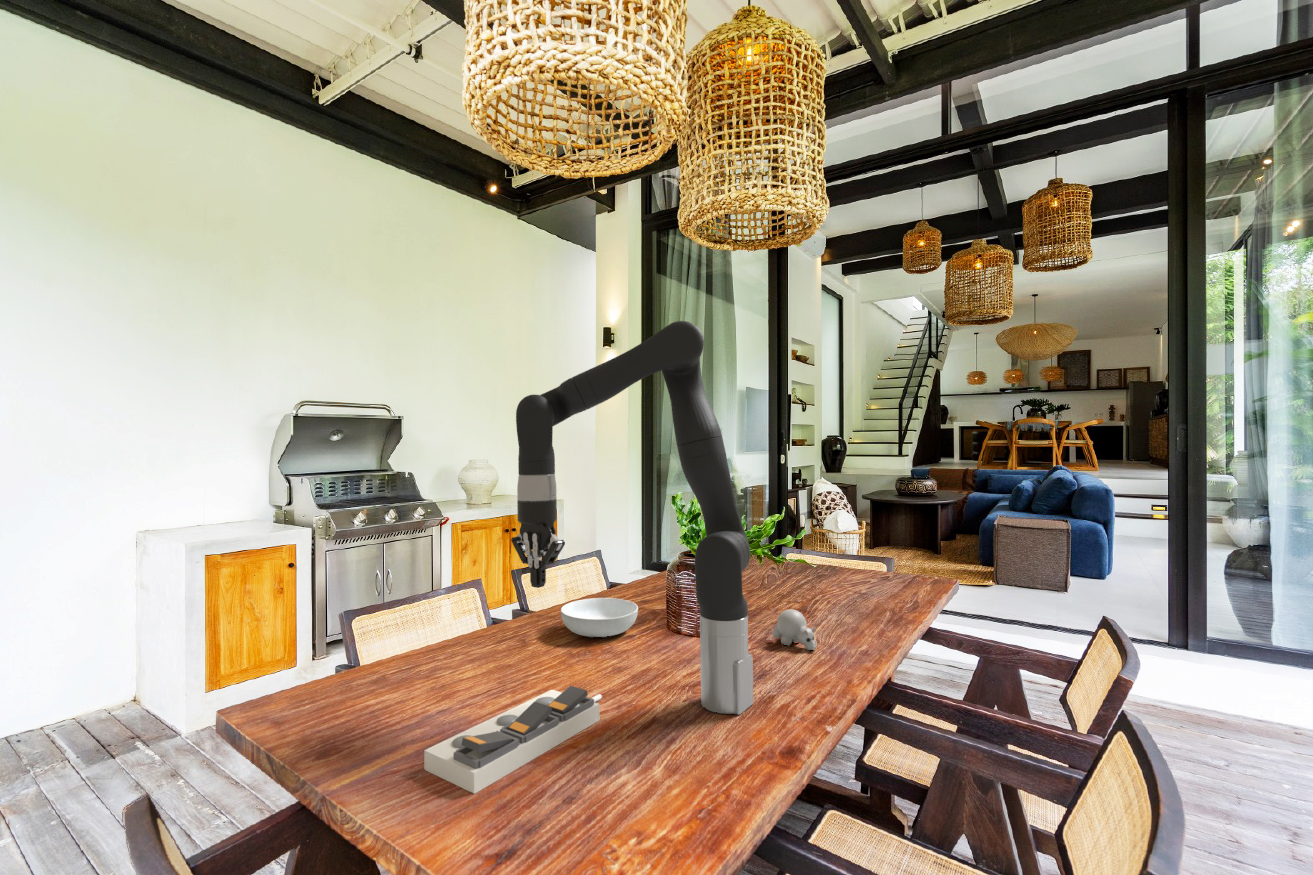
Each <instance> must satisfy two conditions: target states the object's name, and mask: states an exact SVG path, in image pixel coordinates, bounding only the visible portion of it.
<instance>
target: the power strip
mask: <svg viewBox="0 0 1313 875" xmlns="http://www.w3.org/2000/svg"><path fill="white" fill-rule="evenodd" d="M561 693H563V692H562V691H558V690H556V689H555V690H554V689H550V690H548V691H546V692H544V693H542V694H540V695H538V696H536V697H533V698H531V699H530V700H527V701H524V702H523V703H521V704H519V705H516V706H514V707H512V708H510V709H509V710H508V709H507V710H505V711H504V712H502V713H499V714H498V715H495V716H493V717H491V718H489V719H487V720H485V721H482V722H481V723H479V724H476V725H474V726H472V727H469V728H468V729H466V730H464V731H461V732H459V733H457V734H455V735H453V736H451V737H449V738H447V739H445V740H443V741H440V742H438V743H437V744H434V745H433V746H430V747H428V748H426V749H424V752H423V754H424V757H423V760H424V762H423V763H424V765H423V768H424V770H425V771H427V772H428V773H430V774H432V775H434V776H437V777H439V778H441V779H443V780H445V781H446V782H449V783H452V784H453V785H455V786H457V787H459V788H461V789H464V790H465V791H468V792H470V793H471V794H474V795H475V794H477V793H478V792H480V791H482V790H484V789H485V788H487V787H489V786H491V785H492V784H494V783H495V782H497V781H499V780H500V779H502V778H504V777H506V776H507V775H509V774H511V773H512V772H514V771H516V770H517V769H520V768H521V767H522V766H524V765H526V764H528V763H529V762H531V761H533V760H534V759H536V758H538V757H540V756H541V755H543V754H545V753H547V752H549V750H551V749H553V748H555V747H557V746H558V745H560V744H561V743H563V742H565V741H567V740H568V739H570V738H572V737H574V736H575V735H577V734H578V733H580V732H582V731H584V730H586V729H587V728H589V727H591V726H592V725H594V724H596V723H598V722H599V721H600V720H601V718H600V712H601V711H600V703H599V702H598V701H600V700H601V699H603V698H602V697H603V696H602V694H601V693H597V694H596V695H595V696H592V697H589V696H587V697H585V698H584V699H583V700H582V701H581V702H580V703H579V704H578V705H577V706H575V707H574V708H573V709H572V710H571V711H569V712H567V713H565V714H560V713H557V712H554V711H552V713H551V714H550V715H549V716H548V717H547V718H546V719H545V720H544V721H543V722H542V723H541V724H540V725H539V726H538V727H537V728H536V729H535V730H534V731H532V732H530V733H528V734H526V735H521V734H518V733H516V732H513V731H510V730H508V727H509V726H510V725H511V724H512V723H513V722H514V721H515V720H516V719H517V718H518V717H519V716H520V715H521V714H522V713H523V712H524V711H525V710H526V709H527V708H528V707H529V706H530V705H531V704H532V703H533V702H537V703H540V704H544V705H549V704H550V703H551V702H552V701H553V700H554V699H556V698H557V697H558V696H559V695H560V694H561ZM493 732H496V733H499V734H501V735H504V736H507V737H509V738H512V742H511V743H509V744H507V745H506V746H504V747H501V748H497V749H492V750H487V751H483V752H477V751H474V750H472V749H470V748H467V747H465V746H462V739H463V738H465V737H470V736H476V735H482V734H487V733H493Z"/></svg>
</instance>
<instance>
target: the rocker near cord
mask: <svg viewBox="0 0 1313 875" xmlns="http://www.w3.org/2000/svg"><path fill="white" fill-rule="evenodd" d="M585 697H589V694H588V689H587V690H586V689H583V688H581V687H577V686H573V685H569V687H567V688H566V689H565V690H564V691H563V692H562V693H561V694H560V695H559V696H558V697H557V698H556V699H554V700H553V701H552V702H551V703H550V704H549V705H547V706H550V707H551V709H552V711H554V712H557V713H560V714H565V713H567V712H569V711H571V710H572V709H573V708H574V707H575V706H577V705H578V704H579V703H580V702H581V701H582V700H583V699H584V698H585Z"/></svg>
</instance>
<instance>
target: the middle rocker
mask: <svg viewBox="0 0 1313 875" xmlns="http://www.w3.org/2000/svg"><path fill="white" fill-rule="evenodd" d="M551 713H552V709H551V707H550V706H547V705H544V704H540V703H537V702H533V703H532V704H531V705H530V706H529V707H528V708H527V709H526V710H525V711H524V712H523V713H522V714H521V715H520V716H519V717H518V718H517V719H516V720H515V721H514V722H513V723H512V724H511V725H510V726H509V727H508V730H510V731H513V732H516V733H518V734H521V735H526V734H528V733H530V732H532V731H534V730H535V729H536V728H537V727H538V726H539V725H540V724H541V723H542V722H543V721H544V720H545V719H546V718H547V717H548V716H549V715H550V714H551Z"/></svg>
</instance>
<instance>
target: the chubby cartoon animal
mask: <svg viewBox="0 0 1313 875" xmlns="http://www.w3.org/2000/svg"><path fill="white" fill-rule="evenodd" d="M815 630H816V627H812V628H810V627H807V620H806V617H805V616H804V615H803V613H802V612H800V611H798V610H796V609H794V608H793V609H792V608H790V609H785V610H784V611H782V612H781V613H780V614H779V615H778V617H777V621H776V625H775V626H774V628H773V629H772V632H771V634H772V636H773V637H775V638H776V639H781V640H780V642H781V645H783V644H784V645H790V644H791V645H792V644H793V643H792V642H799V643H800V645H801V644H802V645H803V646H804V647H805V649H806V650H807V651H808V650H813V651H815V650H816V648H817V647H818V646H817V645H818V641H817V640H815ZM784 645H783V646H784ZM791 645H790V646H791Z"/></svg>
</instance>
